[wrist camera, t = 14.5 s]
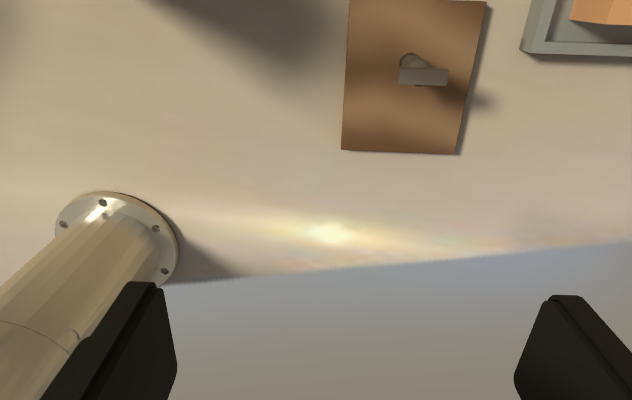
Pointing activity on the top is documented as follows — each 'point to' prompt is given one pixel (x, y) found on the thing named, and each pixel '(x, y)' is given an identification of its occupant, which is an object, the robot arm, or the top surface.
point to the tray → (571, 32)
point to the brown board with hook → (408, 73)
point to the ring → (602, 11)
